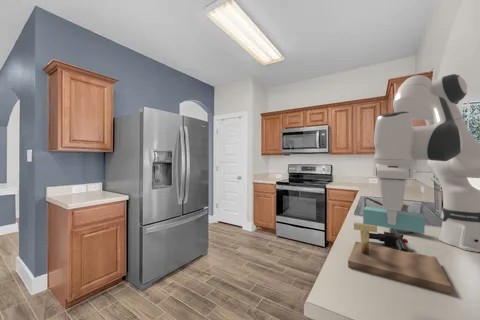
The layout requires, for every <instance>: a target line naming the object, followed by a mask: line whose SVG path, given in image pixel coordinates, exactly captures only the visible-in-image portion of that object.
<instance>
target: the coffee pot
mask: <svg viewBox="0 0 480 320" xmlns="http://www.w3.org/2000/svg"><path fill="white" fill-rule="evenodd" d="M366 200H369V201H370V202H372V203H374V204H377V205H379V206H381V207H383V205H382V202H379V201H377V200H374V199H373V198H370V197H367V196H366V197H365V199H364V201H366ZM409 207H410V206H409V205H408V204H405V203H403V206H402V210H401V211H406V212H409V211H408V210H409V209H408V208H409ZM395 230H396V231H397V233H400V234H401V233H402V234H411V231H405V230H399V229H395Z"/></svg>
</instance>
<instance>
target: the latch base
mask: <svg viewBox="0 0 480 320" xmlns="http://www.w3.org/2000/svg"><path fill="white" fill-rule="evenodd" d="M347 267H348V268H352V269H355V270H358V271H359V270H360V271H363V272H365V273H371V274H373V275H378V276H382V277H385V278H386V277H387V278H390V279H393V280H398V281H401V282H404V283H407V284H412V285H416V286H420V287H424V288H427V289H430V288H431V290H434V289H435V291H438V290H439V291H438V292H442V291H443V292H442V293H446V294H449V293H450V294H452V286H451V283H450V281H449V279H448V277H447V275H446V273H445V272H444V270H443V268H442V266H441V264H440V261H439V260H438V258H437V257H436V256H432V255H431V256H430V255H425V254H421V253H417V252H410V251H408V252H406V251H401V250H398V249H395V248H391V247H385V246H380V245H375V244H371V243H369V254H365V253H362V252H361V241H355V243H354V245H353V248H352V249H351V252H350V254H349V258H348V260H347Z"/></svg>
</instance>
